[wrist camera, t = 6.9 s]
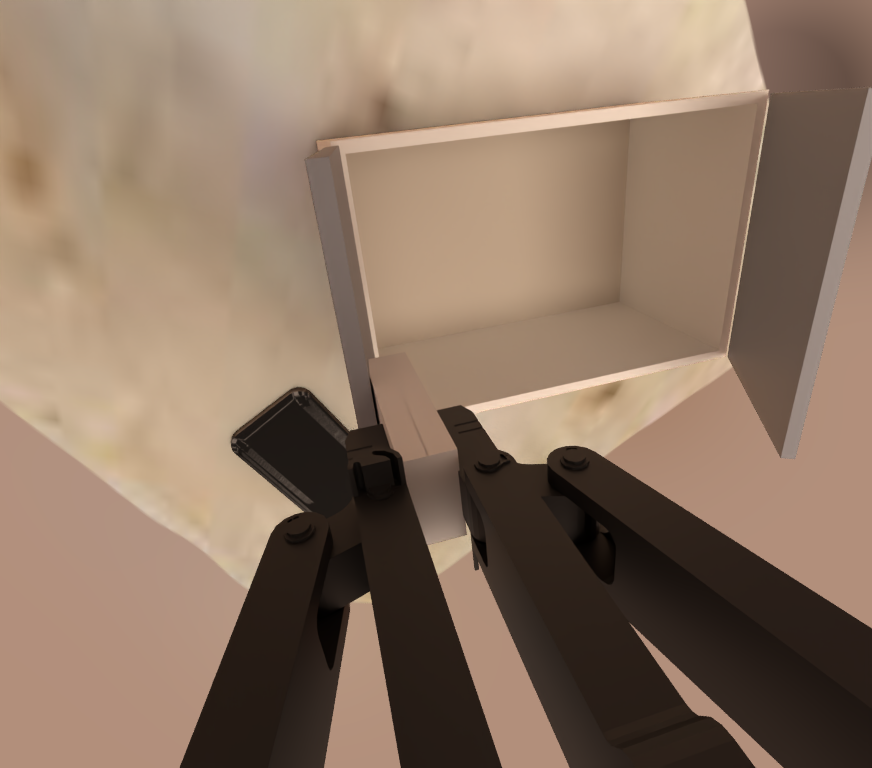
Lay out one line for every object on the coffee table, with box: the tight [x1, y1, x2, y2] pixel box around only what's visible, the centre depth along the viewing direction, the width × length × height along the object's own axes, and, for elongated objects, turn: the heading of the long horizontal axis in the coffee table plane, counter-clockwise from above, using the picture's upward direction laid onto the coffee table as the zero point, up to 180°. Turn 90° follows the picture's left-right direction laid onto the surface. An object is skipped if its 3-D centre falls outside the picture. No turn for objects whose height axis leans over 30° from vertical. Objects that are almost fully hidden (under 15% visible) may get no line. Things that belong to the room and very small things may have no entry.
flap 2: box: [728, 87, 872, 459], centre depth 26 cm, size 16×12×1 cm
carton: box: [316, 90, 769, 413], centre depth 35 cm, size 16×24×12 cm, turn 97°
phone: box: [231, 387, 353, 519], centre depth 45 cm, size 8×1×15 cm
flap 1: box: [305, 146, 378, 429], centre depth 22 cm, size 16×12×1 cm
